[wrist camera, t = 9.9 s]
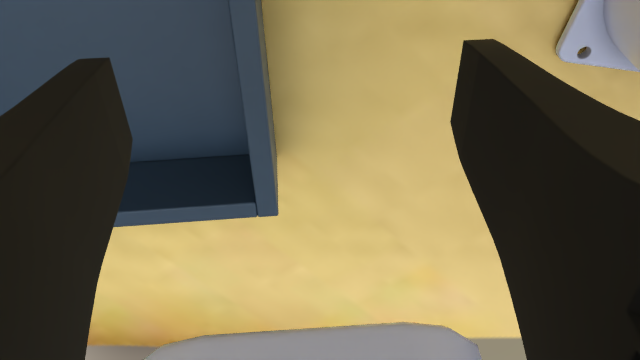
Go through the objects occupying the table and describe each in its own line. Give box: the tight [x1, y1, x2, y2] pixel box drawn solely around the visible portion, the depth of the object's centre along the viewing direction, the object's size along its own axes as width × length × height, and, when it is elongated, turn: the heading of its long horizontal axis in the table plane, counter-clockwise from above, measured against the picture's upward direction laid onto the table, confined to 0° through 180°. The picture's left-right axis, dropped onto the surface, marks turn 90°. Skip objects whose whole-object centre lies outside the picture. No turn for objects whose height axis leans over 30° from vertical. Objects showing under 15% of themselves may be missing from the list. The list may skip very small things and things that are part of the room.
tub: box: [0, 0, 278, 227], centre depth 19 cm, size 16×15×4 cm
